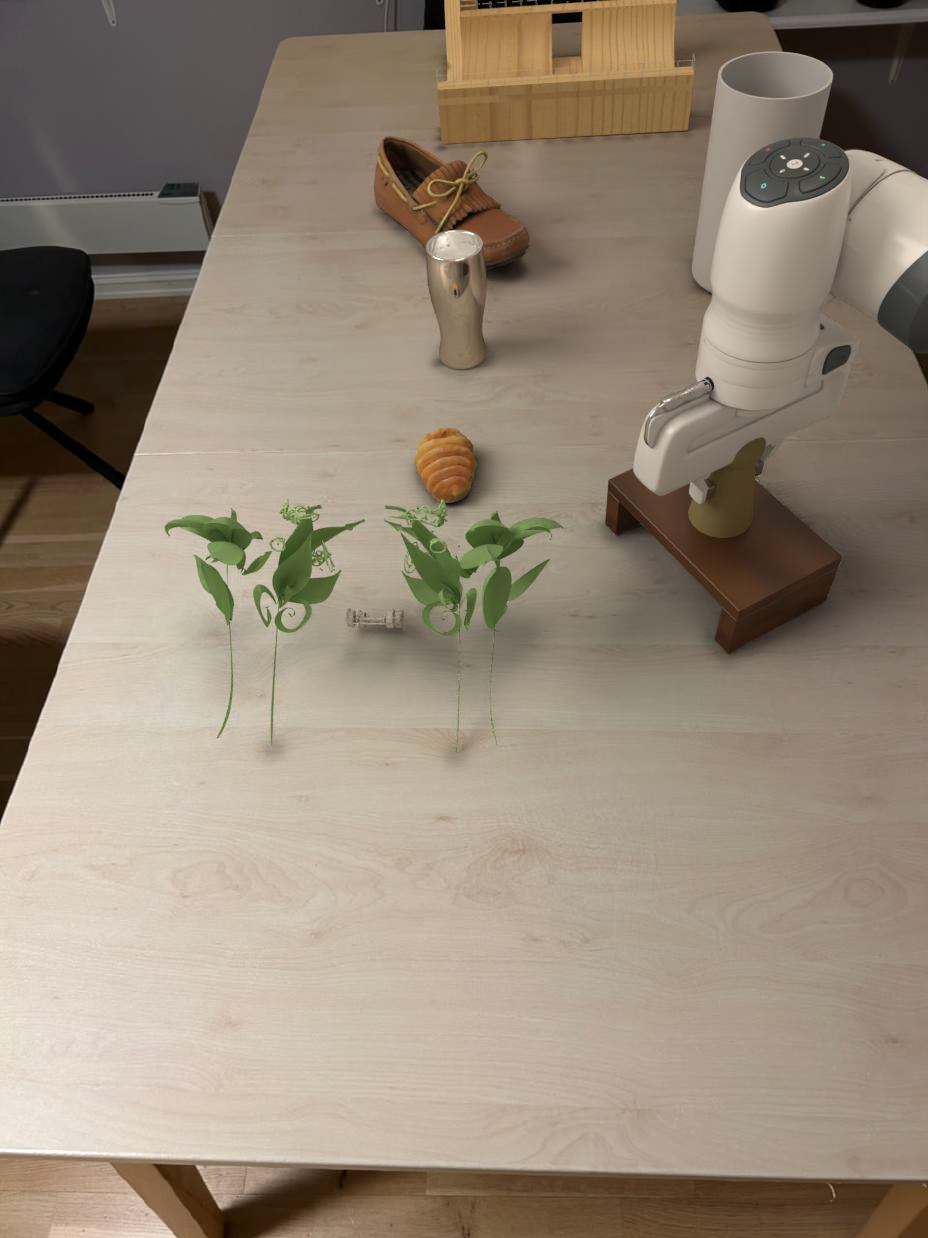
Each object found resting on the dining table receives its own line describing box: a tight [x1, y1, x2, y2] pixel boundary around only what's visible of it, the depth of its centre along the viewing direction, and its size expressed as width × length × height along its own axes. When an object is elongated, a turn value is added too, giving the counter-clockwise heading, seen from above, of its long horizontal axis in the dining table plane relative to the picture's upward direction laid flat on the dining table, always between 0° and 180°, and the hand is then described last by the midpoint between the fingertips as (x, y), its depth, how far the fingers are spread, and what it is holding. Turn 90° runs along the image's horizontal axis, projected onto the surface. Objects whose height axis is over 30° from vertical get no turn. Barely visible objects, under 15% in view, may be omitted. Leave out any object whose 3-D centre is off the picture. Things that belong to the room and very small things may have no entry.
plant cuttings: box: [164, 498, 564, 753], centre depth 84 cm, size 35×17×22 cm
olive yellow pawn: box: [688, 437, 766, 538], centre depth 85 cm, size 6×6×11 cm
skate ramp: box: [435, 0, 696, 145], centre depth 157 cm, size 40×35×16 cm
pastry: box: [414, 427, 478, 504], centre depth 103 cm, size 9×7×4 cm
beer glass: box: [425, 230, 488, 370], centre depth 112 cm, size 7×7×15 cm
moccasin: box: [373, 135, 531, 270], centre depth 130 cm, size 31×12×12 cm, turn 26°
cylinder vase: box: [691, 51, 834, 294], centre depth 115 cm, size 12×12×25 cm
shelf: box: [604, 467, 844, 655], centre depth 92 cm, size 12×20×6 cm, turn 29°
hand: (727, 484), depth 86 cm, fingers closed on olive yellow pawn, 5 cm apart
